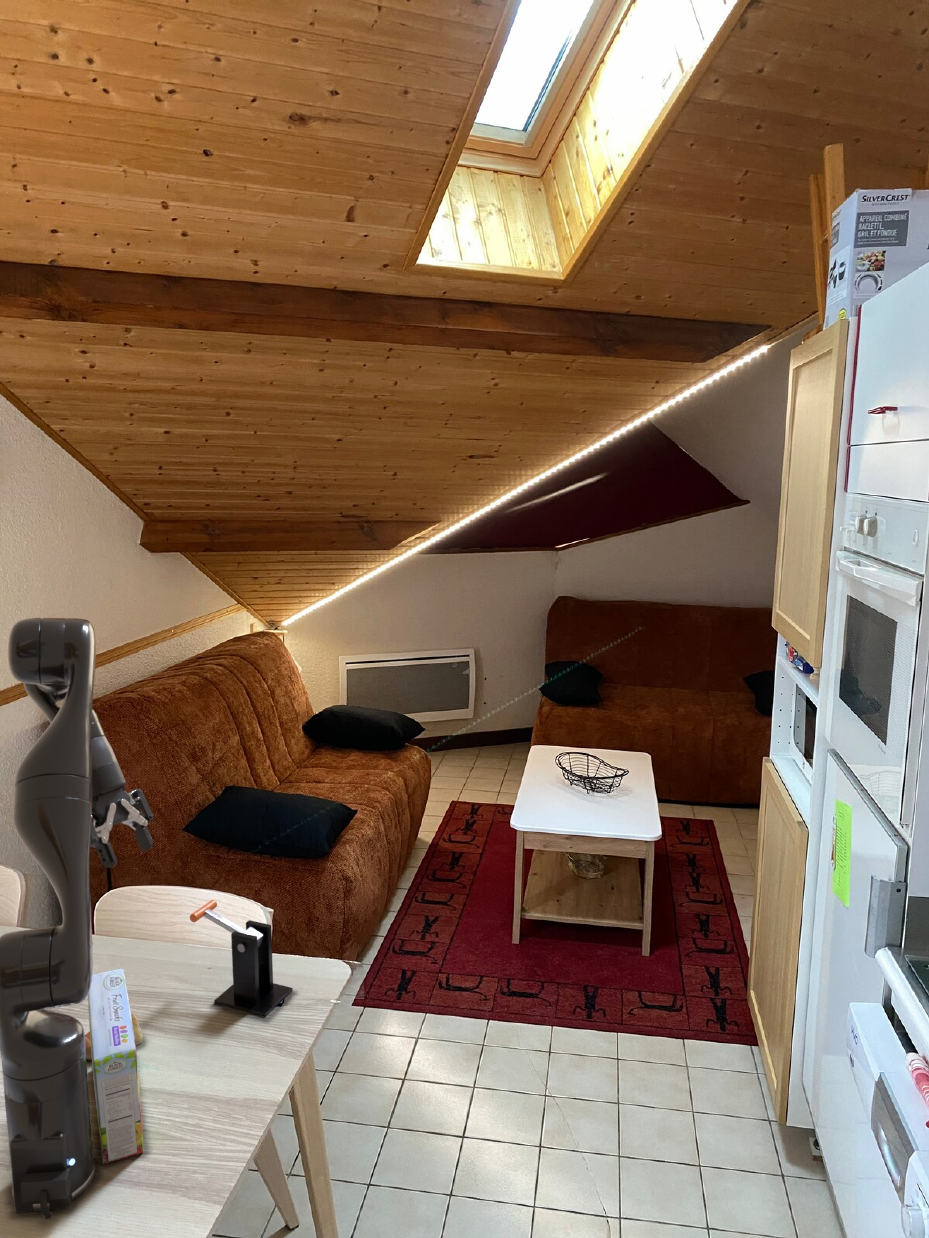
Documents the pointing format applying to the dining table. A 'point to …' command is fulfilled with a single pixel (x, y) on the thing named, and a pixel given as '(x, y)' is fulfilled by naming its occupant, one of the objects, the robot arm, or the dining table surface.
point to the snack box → (114, 1067)
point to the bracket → (253, 974)
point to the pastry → (137, 1037)
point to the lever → (223, 921)
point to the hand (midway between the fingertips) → (130, 857)
